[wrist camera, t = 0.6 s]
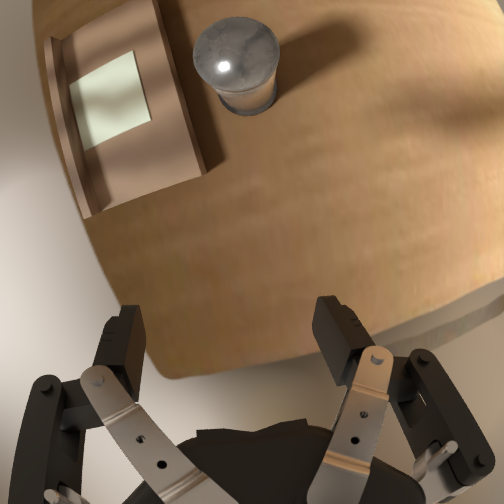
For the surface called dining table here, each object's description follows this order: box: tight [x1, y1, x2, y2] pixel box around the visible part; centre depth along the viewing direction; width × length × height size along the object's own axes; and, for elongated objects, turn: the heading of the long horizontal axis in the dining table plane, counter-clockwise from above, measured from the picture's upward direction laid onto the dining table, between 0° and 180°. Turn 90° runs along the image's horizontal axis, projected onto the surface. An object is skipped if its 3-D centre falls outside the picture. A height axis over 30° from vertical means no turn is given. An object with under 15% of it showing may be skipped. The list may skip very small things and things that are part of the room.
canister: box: [193, 17, 280, 116], centre depth 23 cm, size 6×6×14 cm
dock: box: [44, 0, 207, 219], centre depth 28 cm, size 24×14×5 cm, turn 16°
